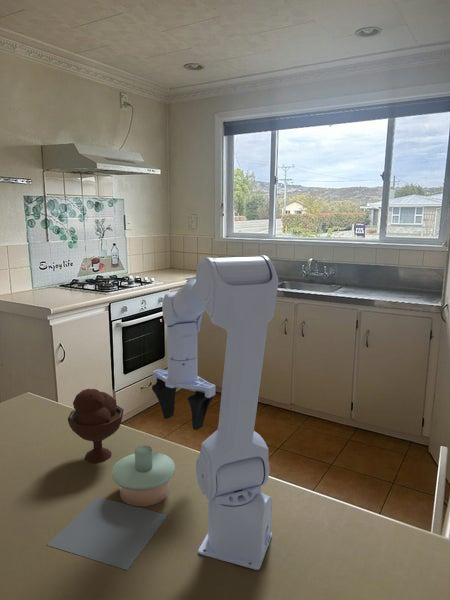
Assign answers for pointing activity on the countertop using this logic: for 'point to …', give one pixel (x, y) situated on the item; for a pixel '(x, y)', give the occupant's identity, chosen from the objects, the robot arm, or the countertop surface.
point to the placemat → (109, 532)
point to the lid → (143, 469)
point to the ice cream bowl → (95, 421)
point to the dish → (145, 495)
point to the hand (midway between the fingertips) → (183, 422)
